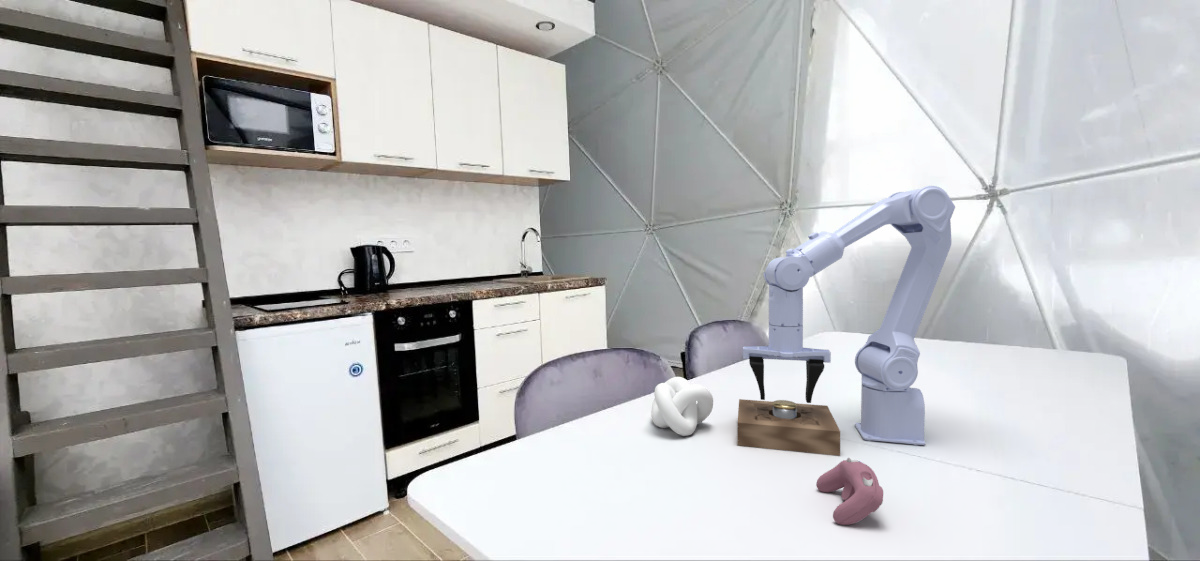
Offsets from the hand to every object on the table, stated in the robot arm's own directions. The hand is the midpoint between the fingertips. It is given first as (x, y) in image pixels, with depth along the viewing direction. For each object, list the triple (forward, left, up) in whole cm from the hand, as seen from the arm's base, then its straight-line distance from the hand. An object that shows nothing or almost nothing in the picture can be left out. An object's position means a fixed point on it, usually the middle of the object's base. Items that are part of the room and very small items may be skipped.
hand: (785, 399), depth 88 cm
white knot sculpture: (+18, +1, -7) cm, 19 cm away
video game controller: (-6, +24, -7) cm, 26 cm away
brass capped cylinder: (0, 0, -7) cm, 7 cm away
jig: (0, 0, -7) cm, 7 cm away
